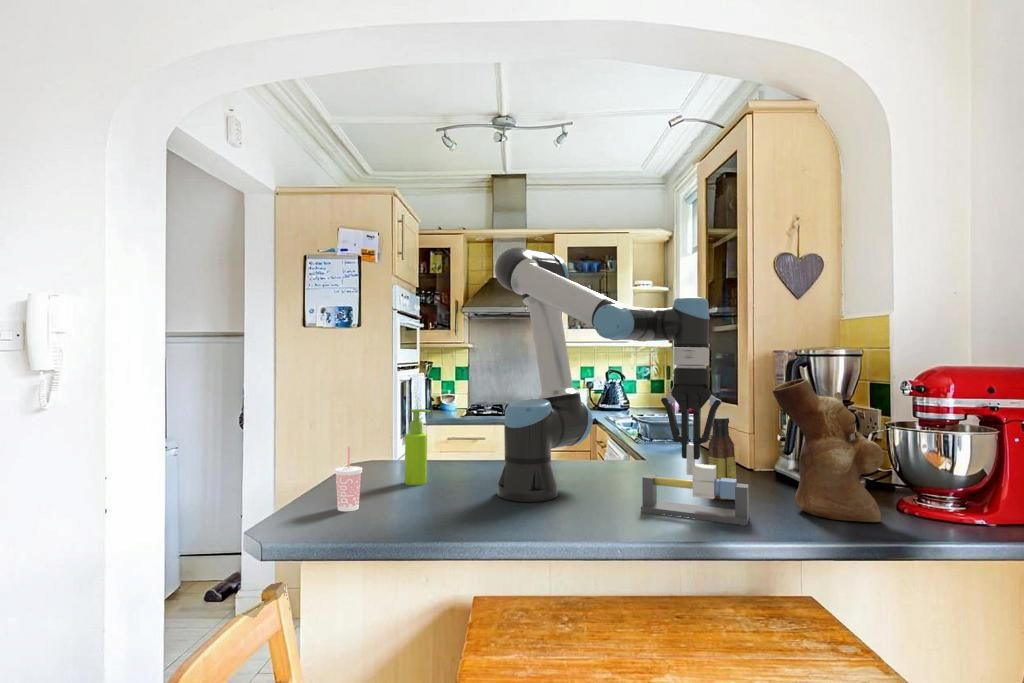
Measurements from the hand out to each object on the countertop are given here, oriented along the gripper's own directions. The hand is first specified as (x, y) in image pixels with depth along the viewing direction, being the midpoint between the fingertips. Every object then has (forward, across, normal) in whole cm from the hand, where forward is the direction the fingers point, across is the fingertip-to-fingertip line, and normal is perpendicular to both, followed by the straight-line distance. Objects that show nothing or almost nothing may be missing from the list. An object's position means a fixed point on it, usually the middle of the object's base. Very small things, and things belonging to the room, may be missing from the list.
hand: (690, 473), depth 125 cm
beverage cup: (+10, -70, -31) cm, 77 cm away
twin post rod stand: (+9, +1, 0) cm, 9 cm away
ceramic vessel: (+9, +27, +14) cm, 32 cm away
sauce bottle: (+9, +5, +18) cm, 21 cm away
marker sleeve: (+5, +3, 0) cm, 5 cm away
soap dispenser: (+9, -71, -3) cm, 72 cm away
